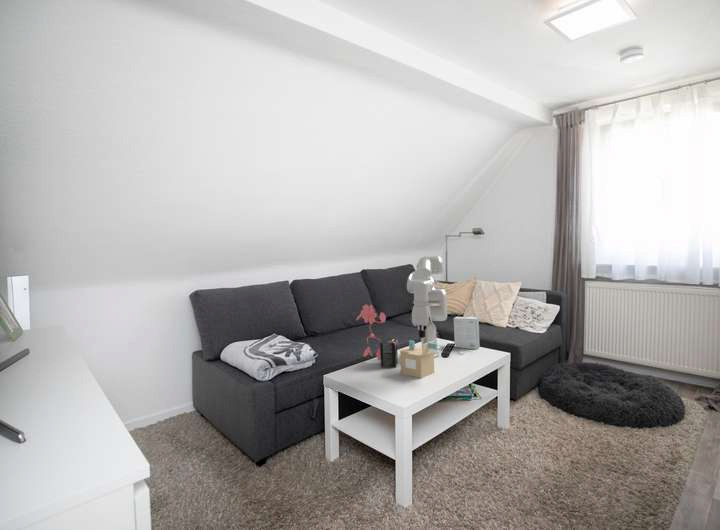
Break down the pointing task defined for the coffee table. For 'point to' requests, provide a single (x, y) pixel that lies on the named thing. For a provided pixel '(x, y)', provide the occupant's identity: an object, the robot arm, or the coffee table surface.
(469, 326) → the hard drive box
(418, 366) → the carton
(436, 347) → the flap
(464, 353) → the coffee table surface
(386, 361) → the tampon box
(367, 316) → the figurine
